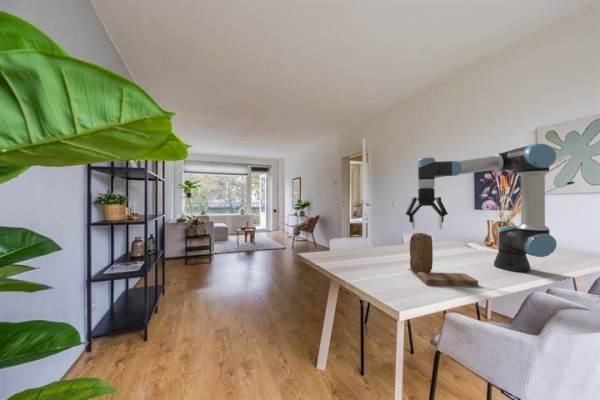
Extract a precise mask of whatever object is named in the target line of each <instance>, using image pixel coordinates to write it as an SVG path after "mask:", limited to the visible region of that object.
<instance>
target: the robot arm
mask: <svg viewBox="0 0 600 400" xmlns="http://www.w3.org/2000/svg"><path fill="white" fill-rule="evenodd" d="M556 161H557V153H556V150H555V149H554V148H553V147H551V146H550V145H549V144H546V143H534V144H529V145H526V146H521V147H518V148H514V149H511V150H507V151H504V152H499V153H495V154H493V155H492V156H485V157H479V158H478V157H477V158H470V159H463V160H446V161H436V159H435V158H434V157H431V156H430V157H421V158H419V159H418V163H417V177H418V180H417V183H418V184H417V185H418V188H417V190H418V191H417V194H418V196H417V197H411V202H410V203H409V206H408V208H407V210H406V212H405V215H407V216H408V217H409V220H408V221H409V223H410V225H411V226H410V228H411V229H412V230H415V229H416V225H415V224H416V219H415V217H416V216H415V215H416V213H417V212H418V211H419V210H420V209H421V207H423V206H424V207H426V206H427V207H432V208H433V210H434V212H436V213H437V214H438V215H437V229H439V230H442V229H443V223H444V217H445V216H447V215H449V214H448V212H447V209H446V207H445V206H444V204H443V202H442V197H440V196H437V197H435V194H436V193H435V186H436V185H435V179H437V178H441V177H442V178H445V177H454V176H459V175H465V174H473V173H481V172H487V171H488V172H489V171H495V172H504V171H516V174H517V175H518V176H519V177H520V224H519V225H518V226H513V225H512V226H511V225H510V226H507V225H506V226H505V225H502V226H499V228H498V242H497V243H498V247H497V249H498V250H497V251H498V252H497V254H496V257H495V258H494V262H493V266H494V267H496V268H498V269H501V270H505V271H509V272H518V273H520V272H521V273H529V272H531V265H530V262H529V259H528V257H527V255H529V256H532V257H536V258H537V257H538V258H545V257H548V256H550V255H551V254H553V253H554V252H555V251H556V250H557V249H556V248H557V245H558V244H557V240H556V238H555V237H554V236H553V235H551V234H550V231H551V230H550V228H549V227H548V226H546V178H545V177H546V175H547V174H549V173H550V167H551V166H553V165H554V163H555V162H556ZM435 201H436V203H437V205H438V206H437V205H436V203H435ZM417 202H418V203H417ZM416 203H417V204H416ZM415 205H416V206H415Z"/></svg>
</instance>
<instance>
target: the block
mask: <svg viewBox="0 0 600 400" xmlns="http://www.w3.org/2000/svg"><path fill="white" fill-rule="evenodd" d="M433 247H434V246H433V238H432V235H430V234H428V233H423V232H421V233H420V232H417V233H413V234H412V236H410V239H409V256H410V258H409V259H410V261H409V264H410V265H409V267H410V268H409V269H412V271H414V272H415V273H417V272H430V273H432V269H433V264H434V263H433V257H434V256H433V255H434V253H433V252H434V251H433V249H434V248H433Z"/></svg>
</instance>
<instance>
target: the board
mask: <svg viewBox="0 0 600 400" xmlns="http://www.w3.org/2000/svg"><path fill="white" fill-rule="evenodd" d="M417 278H418V279H419V280H420V281H421V282H422V283H423V284H424V285H426V286H449V287H450V286H453V287H479V280H477V279H476V278H474V277H471V276H470V275H468V274H466V273H463V272H460V273H459V272H431V273H430V272H417Z"/></svg>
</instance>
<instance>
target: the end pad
mask: <svg viewBox="0 0 600 400" xmlns="http://www.w3.org/2000/svg"><path fill="white" fill-rule="evenodd" d="M407 270H408V271H409V270H410V271H411V273H412V274H413V275H414V276H415V277H417V273H415V272H414V271H412V269H411V268H407ZM410 271H409V272H410ZM417 278H418V277H417Z"/></svg>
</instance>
